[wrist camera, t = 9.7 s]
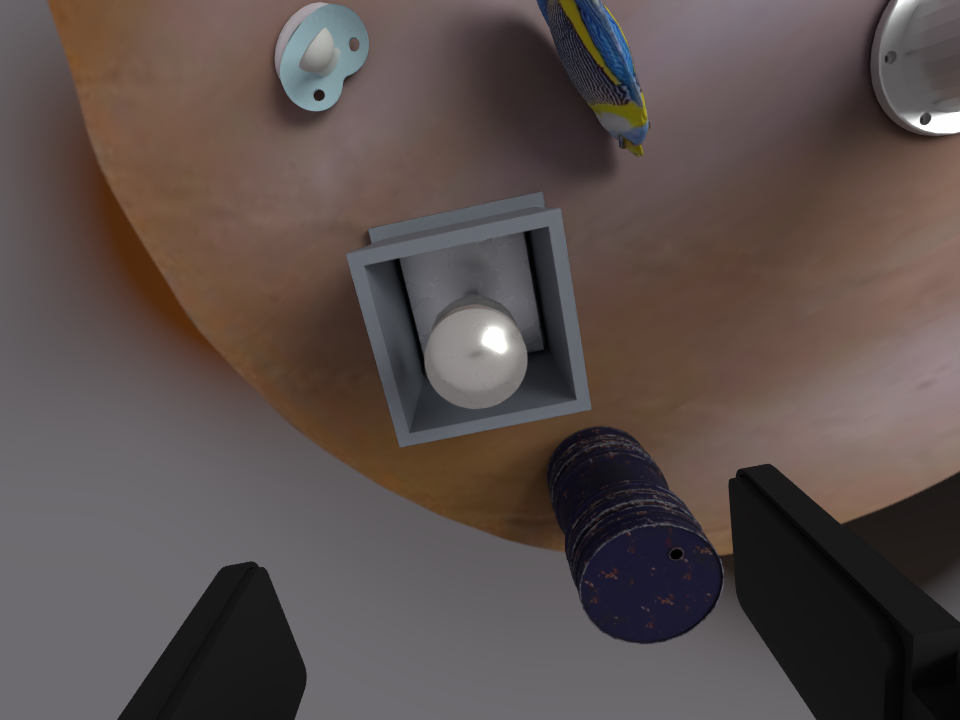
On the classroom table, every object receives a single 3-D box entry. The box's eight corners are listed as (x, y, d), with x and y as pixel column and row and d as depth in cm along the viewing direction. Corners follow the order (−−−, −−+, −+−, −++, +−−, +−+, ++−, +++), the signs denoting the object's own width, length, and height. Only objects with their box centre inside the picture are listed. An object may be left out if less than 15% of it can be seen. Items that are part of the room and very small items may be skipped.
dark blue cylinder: (612, 534, 50) (669, 665, 36) (526, 493, 49) (549, 613, 34) (670, 453, 48) (756, 559, 33) (581, 407, 46) (631, 498, 32)
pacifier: (260, 70, 38) (326, 127, 39) (218, 43, 32) (297, 110, 33) (317, -17, 36) (384, 44, 38) (284, -63, 30) (365, 12, 32)
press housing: (540, 191, 41) (576, 184, 27) (567, 356, 45) (609, 421, 31) (370, 228, 41) (322, 239, 28) (412, 387, 45) (388, 464, 32)
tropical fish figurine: (648, 146, 40) (704, 127, 30) (614, 172, 40) (659, 162, 31) (532, -45, 36) (554, -135, 26) (496, -13, 37) (505, -90, 27)
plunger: (521, 228, 39) (556, 244, 23) (542, 345, 41) (585, 429, 26) (400, 254, 39) (355, 286, 24) (428, 369, 42) (405, 464, 26)
